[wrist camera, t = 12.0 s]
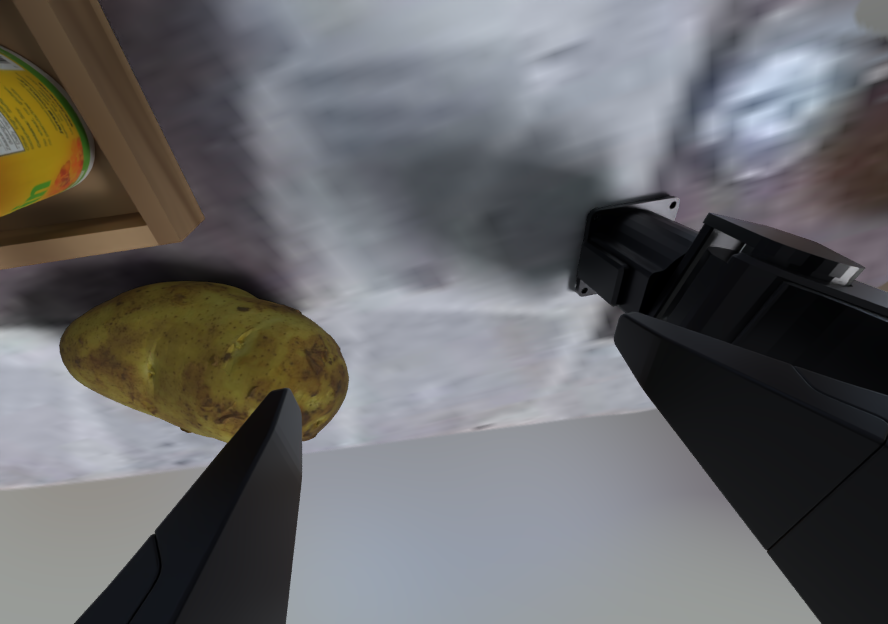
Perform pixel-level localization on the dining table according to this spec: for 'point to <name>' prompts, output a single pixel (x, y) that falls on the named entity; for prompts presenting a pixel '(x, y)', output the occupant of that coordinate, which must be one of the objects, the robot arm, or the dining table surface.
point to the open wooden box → (116, 144)
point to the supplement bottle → (38, 136)
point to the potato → (205, 356)
